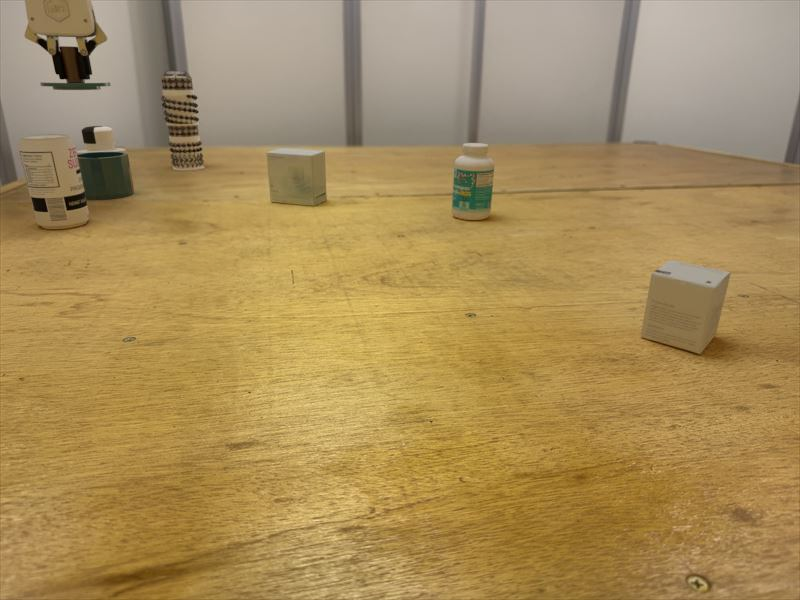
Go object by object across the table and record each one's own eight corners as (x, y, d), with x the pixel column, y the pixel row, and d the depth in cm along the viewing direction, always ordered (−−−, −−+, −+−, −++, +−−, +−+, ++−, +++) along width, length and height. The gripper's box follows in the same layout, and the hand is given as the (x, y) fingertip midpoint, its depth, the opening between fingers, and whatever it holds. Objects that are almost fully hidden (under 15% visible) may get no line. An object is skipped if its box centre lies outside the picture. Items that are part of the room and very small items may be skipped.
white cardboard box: (716, 336, 59) (733, 271, 56) (699, 356, 55) (717, 286, 52) (657, 320, 62) (670, 258, 60) (637, 337, 58) (651, 271, 55)
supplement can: (31, 223, 97) (9, 135, 92) (82, 216, 103) (64, 132, 97) (44, 232, 92) (21, 140, 86) (97, 224, 97) (79, 136, 92)
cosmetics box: (269, 202, 115) (265, 151, 111) (284, 196, 121) (281, 147, 117) (314, 206, 112) (311, 154, 108) (328, 200, 118) (326, 150, 114)
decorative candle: (198, 164, 160) (186, 71, 150) (211, 168, 153) (199, 71, 144) (166, 167, 154) (151, 71, 145) (178, 171, 148) (164, 71, 138)
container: (81, 184, 130) (69, 127, 125) (105, 179, 137) (94, 124, 132) (109, 186, 128) (98, 128, 123) (132, 180, 135) (122, 125, 130)
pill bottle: (444, 214, 108) (447, 142, 102) (475, 210, 111) (480, 141, 106) (465, 223, 101) (470, 147, 96) (498, 219, 105) (504, 145, 99)
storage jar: (75, 200, 115) (66, 158, 111) (87, 190, 124) (79, 152, 121) (129, 198, 117) (122, 157, 114) (137, 188, 126) (131, 151, 123)
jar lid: (32, 90, 96) (22, 44, 93) (52, 88, 106) (43, 47, 103) (104, 90, 99) (96, 46, 96) (116, 88, 109) (109, 48, 106)
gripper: (-12, -43, 89) (17, 79, 96) (99, -37, 93) (119, 80, 100) (6, -35, 96) (32, 78, 103) (108, -30, 100) (127, 79, 107)
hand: (75, 78), depth 102 cm, fingers closed on jar lid, 3 cm apart
